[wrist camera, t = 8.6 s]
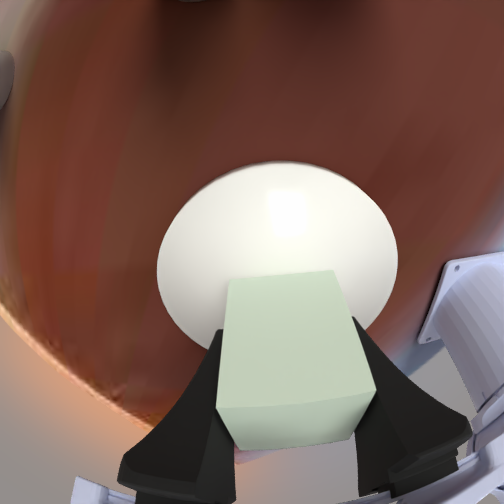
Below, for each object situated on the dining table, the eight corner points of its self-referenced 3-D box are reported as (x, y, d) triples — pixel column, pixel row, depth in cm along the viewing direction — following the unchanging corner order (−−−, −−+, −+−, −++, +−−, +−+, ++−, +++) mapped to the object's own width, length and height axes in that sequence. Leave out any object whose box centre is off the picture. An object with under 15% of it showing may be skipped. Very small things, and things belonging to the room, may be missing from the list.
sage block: (333, 269, 11) (376, 390, 6) (326, 337, 14) (348, 439, 9) (229, 279, 12) (215, 407, 7) (243, 345, 14) (240, 450, 9)
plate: (400, 157, 11) (412, 163, 10) (370, 339, 18) (374, 351, 17) (135, 180, 12) (125, 188, 11) (194, 355, 19) (192, 368, 18)
